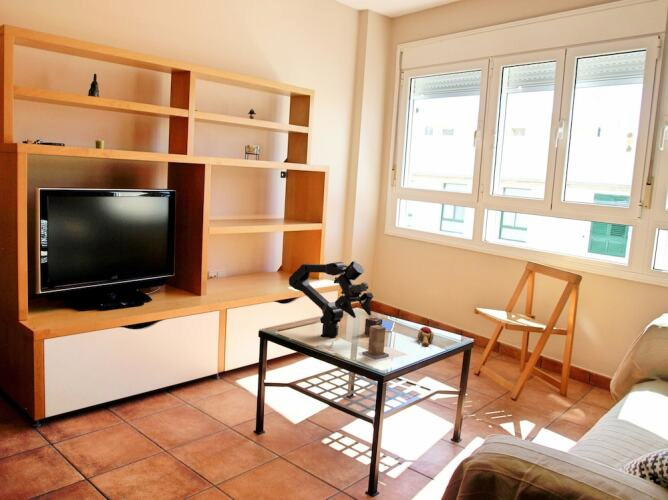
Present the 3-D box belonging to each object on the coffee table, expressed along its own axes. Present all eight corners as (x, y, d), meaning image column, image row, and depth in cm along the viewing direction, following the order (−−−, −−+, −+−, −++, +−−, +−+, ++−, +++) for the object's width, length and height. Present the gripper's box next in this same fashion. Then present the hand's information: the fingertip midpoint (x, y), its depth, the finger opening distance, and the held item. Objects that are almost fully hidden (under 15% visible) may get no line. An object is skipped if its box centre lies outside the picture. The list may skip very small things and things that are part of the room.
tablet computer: (370, 321, 297) (370, 318, 297) (394, 323, 295) (395, 321, 294) (365, 330, 278) (365, 328, 278) (391, 333, 276) (391, 331, 275)
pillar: (367, 354, 236) (370, 326, 234) (375, 352, 239) (377, 325, 237) (375, 357, 233) (378, 329, 231) (383, 356, 236) (385, 327, 234)
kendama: (435, 352, 254) (434, 336, 271) (434, 339, 252) (433, 323, 270) (417, 353, 255) (417, 337, 272) (416, 340, 254) (416, 324, 271)
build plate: (355, 355, 237) (356, 351, 236) (387, 348, 249) (387, 344, 249) (376, 364, 228) (377, 359, 228) (408, 356, 240) (408, 351, 240)
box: (374, 336, 267) (375, 321, 266) (364, 333, 270) (365, 318, 269) (381, 334, 272) (383, 319, 271) (371, 331, 275) (372, 316, 274)
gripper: (341, 277, 243) (357, 308, 236) (372, 274, 255) (388, 304, 249) (327, 292, 250) (343, 322, 243) (358, 288, 262) (373, 317, 256)
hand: (362, 316), depth 248 cm, fingers open, 9 cm apart
